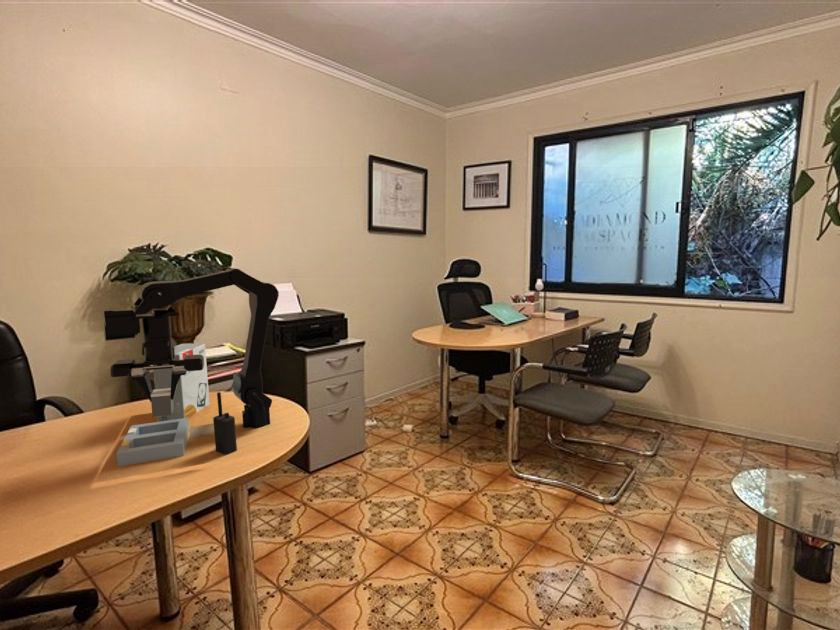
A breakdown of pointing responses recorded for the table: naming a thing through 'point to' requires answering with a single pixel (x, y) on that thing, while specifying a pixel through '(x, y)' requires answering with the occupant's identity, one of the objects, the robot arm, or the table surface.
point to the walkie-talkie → (224, 431)
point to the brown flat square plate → (202, 430)
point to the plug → (161, 402)
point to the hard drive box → (185, 384)
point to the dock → (154, 442)
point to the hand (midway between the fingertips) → (162, 400)
